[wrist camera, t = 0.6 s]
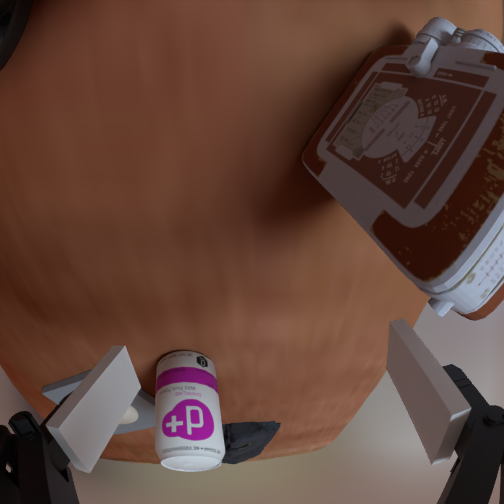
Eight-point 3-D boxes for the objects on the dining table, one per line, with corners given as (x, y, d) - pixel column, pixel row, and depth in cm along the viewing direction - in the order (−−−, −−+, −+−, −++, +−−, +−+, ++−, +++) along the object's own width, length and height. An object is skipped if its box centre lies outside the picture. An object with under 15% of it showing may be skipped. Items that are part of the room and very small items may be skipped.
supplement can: (157, 345, 37) (154, 451, 24) (219, 350, 39) (233, 453, 27) (156, 378, 41) (156, 470, 29) (210, 382, 43) (221, 472, 31)
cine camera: (446, 64, 22) (610, 115, 6) (353, 200, 30) (482, 345, 13) (390, 2, 18) (578, -1, 2) (283, 154, 26) (417, 311, 10)
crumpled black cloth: (203, 454, 63) (204, 470, 59) (208, 420, 52) (210, 442, 48) (261, 451, 67) (265, 466, 63) (283, 416, 55) (288, 436, 51)
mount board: (43, 386, 40) (41, 394, 38) (107, 363, 38) (105, 373, 36) (110, 429, 50) (110, 436, 48) (178, 413, 48) (178, 421, 46)
